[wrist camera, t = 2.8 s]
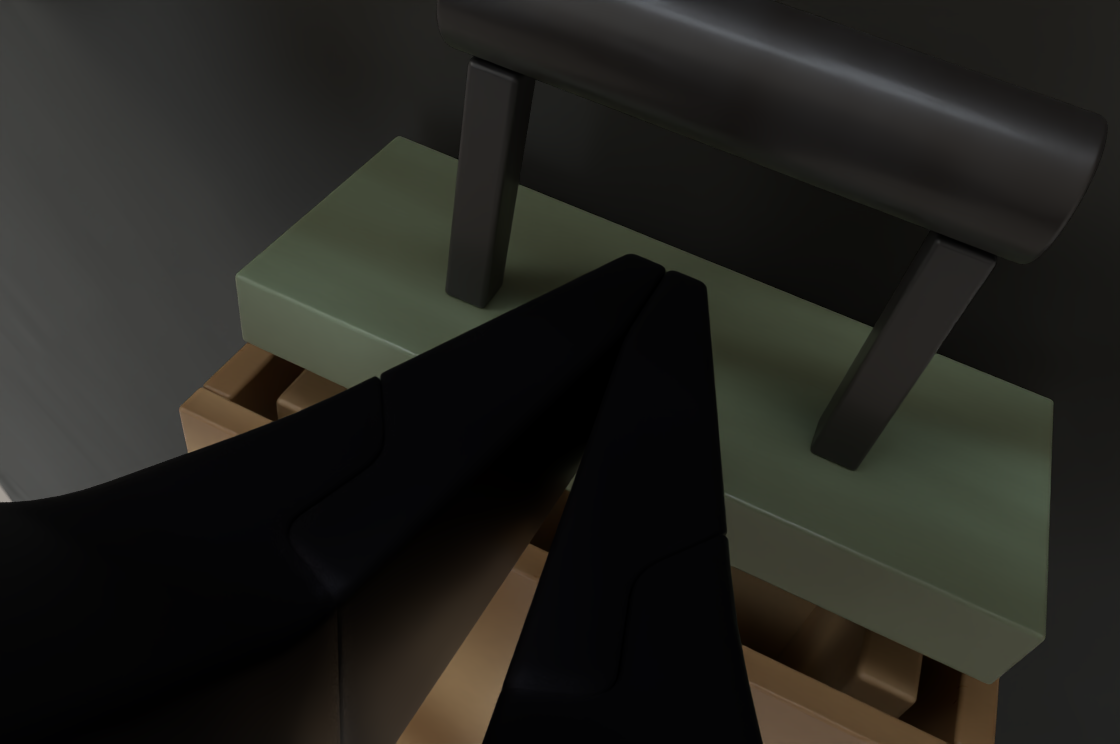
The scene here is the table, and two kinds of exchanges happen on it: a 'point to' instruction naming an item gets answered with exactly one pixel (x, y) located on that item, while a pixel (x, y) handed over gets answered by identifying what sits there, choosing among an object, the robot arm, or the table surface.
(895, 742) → the cabinet
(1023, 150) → the drawer
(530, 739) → the robot arm
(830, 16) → the table surface
